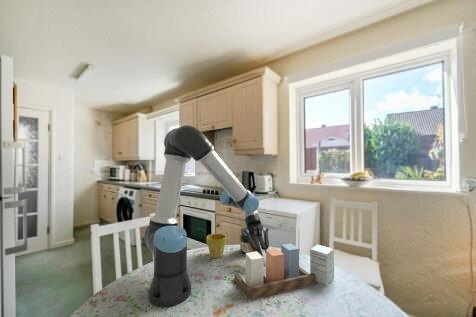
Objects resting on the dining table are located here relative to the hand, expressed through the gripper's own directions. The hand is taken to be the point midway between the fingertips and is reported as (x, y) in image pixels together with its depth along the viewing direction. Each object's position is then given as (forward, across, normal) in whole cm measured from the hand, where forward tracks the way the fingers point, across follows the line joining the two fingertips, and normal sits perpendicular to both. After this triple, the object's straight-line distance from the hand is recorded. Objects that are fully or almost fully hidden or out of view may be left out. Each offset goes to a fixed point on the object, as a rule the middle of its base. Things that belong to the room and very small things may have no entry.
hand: (266, 265), depth 95 cm
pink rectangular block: (+7, 0, +3) cm, 8 cm away
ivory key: (+8, +9, +3) cm, 12 cm away
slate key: (+5, -9, +1) cm, 11 cm away
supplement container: (-14, -2, -19) cm, 24 cm away
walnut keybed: (+7, 0, +2) cm, 7 cm away
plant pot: (-15, +16, -21) cm, 30 cm away
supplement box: (+11, -20, +5) cm, 24 cm away
